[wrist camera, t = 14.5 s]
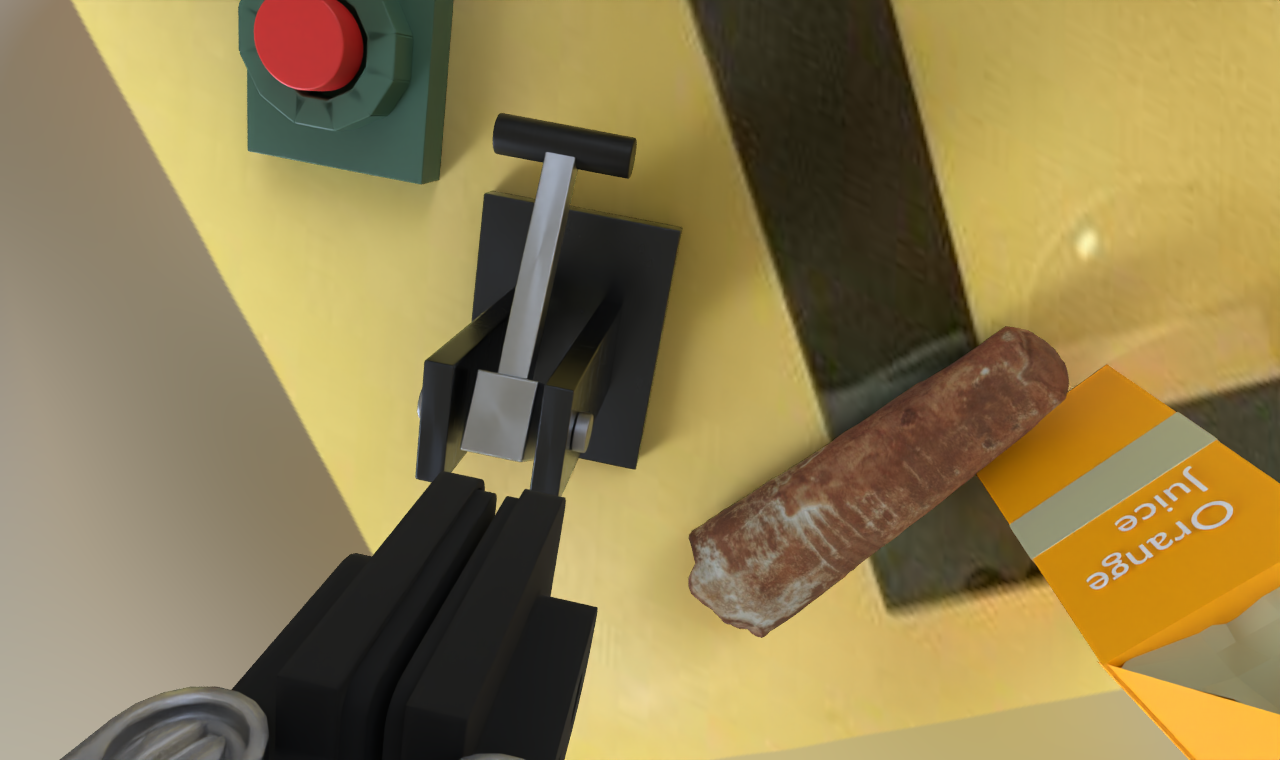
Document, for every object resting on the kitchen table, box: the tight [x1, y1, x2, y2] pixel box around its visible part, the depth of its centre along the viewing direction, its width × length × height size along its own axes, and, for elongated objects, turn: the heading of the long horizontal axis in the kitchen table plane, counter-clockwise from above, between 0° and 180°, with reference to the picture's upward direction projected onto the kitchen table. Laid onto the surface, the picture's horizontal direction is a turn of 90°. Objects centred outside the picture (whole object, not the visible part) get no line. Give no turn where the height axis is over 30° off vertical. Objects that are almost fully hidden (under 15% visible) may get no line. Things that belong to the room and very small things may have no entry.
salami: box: [689, 326, 1069, 638], centre depth 36 cm, size 6×19×6 cm, turn 130°
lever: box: [460, 113, 637, 462], centre depth 28 cm, size 12×5×2 cm, turn 171°
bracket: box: [415, 191, 682, 497], centre depth 32 cm, size 12×9×13 cm
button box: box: [238, 0, 453, 184], centre depth 33 cm, size 10×8×4 cm
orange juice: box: [976, 365, 1280, 760], centre depth 28 cm, size 8×9×20 cm
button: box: [254, 0, 363, 91], centre depth 30 cm, size 4×4×2 cm
